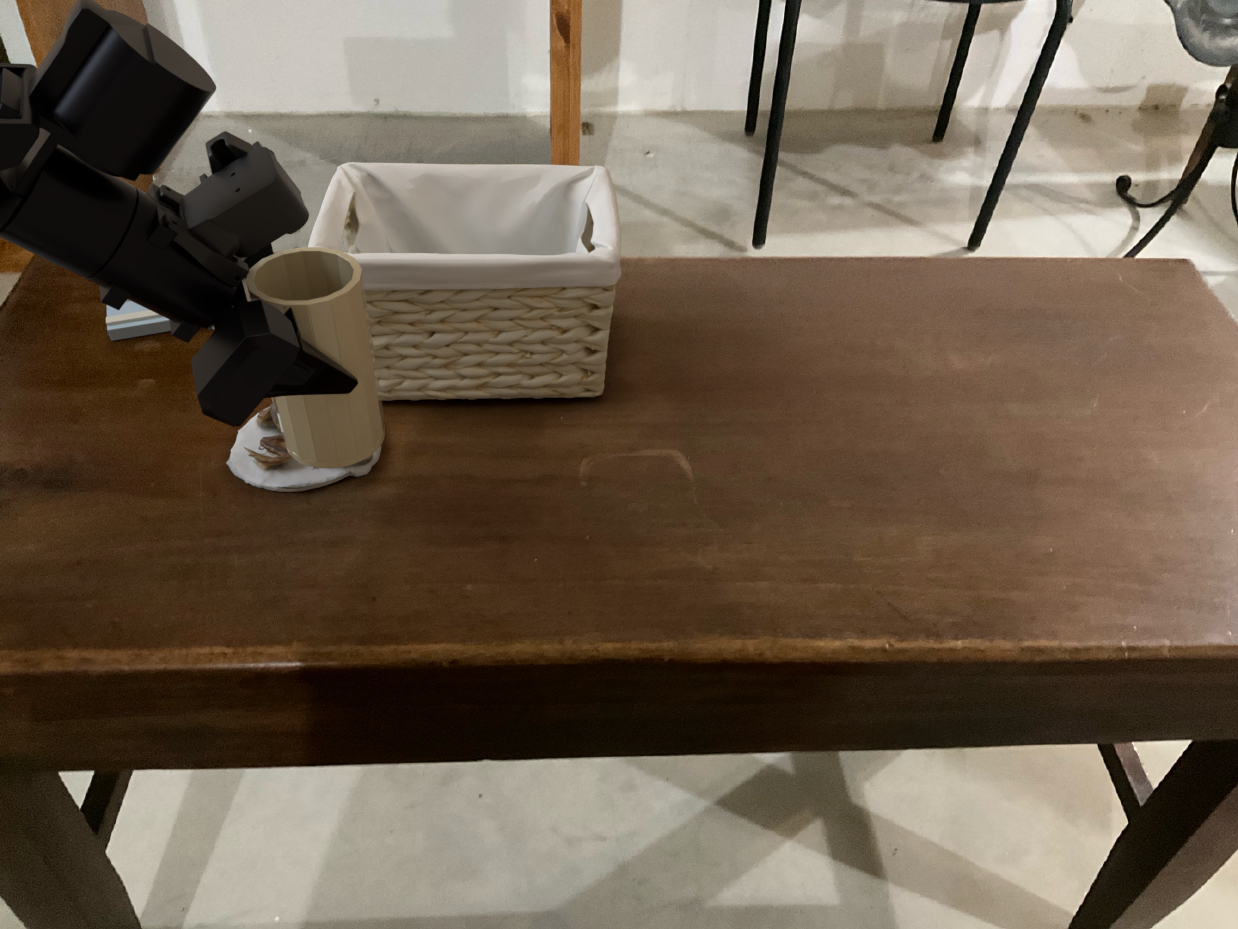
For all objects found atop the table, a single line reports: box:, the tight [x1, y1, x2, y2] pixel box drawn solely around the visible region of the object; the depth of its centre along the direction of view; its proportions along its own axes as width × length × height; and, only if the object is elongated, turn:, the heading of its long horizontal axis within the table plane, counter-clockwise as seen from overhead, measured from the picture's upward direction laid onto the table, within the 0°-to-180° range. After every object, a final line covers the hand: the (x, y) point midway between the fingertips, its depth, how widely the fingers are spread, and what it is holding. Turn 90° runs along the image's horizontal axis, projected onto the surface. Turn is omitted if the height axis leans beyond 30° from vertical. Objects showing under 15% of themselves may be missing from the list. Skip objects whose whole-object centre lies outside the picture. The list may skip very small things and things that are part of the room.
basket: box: [307, 161, 622, 402], centre depth 81 cm, size 24×16×15 cm
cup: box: [246, 246, 386, 468], centre depth 63 cm, size 7×7×13 cm
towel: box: [105, 299, 171, 342], centre depth 88 cm, size 10×6×2 cm, turn 112°
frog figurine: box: [225, 397, 382, 493], centre depth 75 cm, size 12×12×4 cm
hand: (342, 355), depth 63 cm, fingers closed on cup, 7 cm apart
